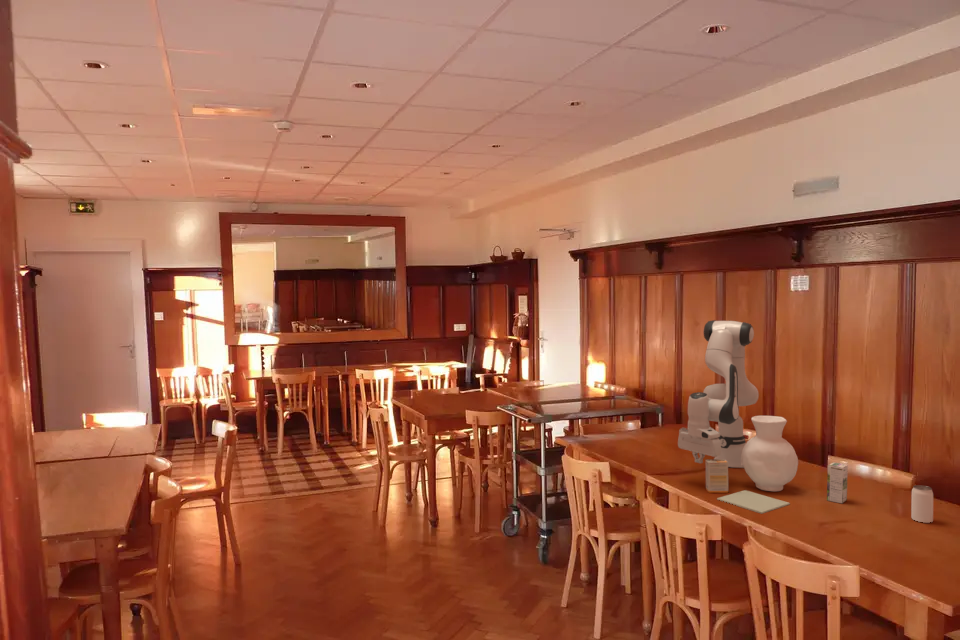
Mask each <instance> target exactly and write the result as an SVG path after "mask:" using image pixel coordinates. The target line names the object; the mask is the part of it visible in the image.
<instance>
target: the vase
mask: <svg viewBox="0 0 960 640" xmlns="http://www.w3.org/2000/svg"><path fill="white" fill-rule="evenodd" d="M751 422H752V424H753V426H754V429H755V436H753V437H751V438H749V439H748V440H747V441H746V444H745V445H744V448H743V450H742V454H741V457H742V463H743V466H744V468H743V469H744V471H745V473H746V474H747V476H748V477H749V478H750V479H751V481H753V483H755V487H756V488H757V489H759V490H761V491H765V492H781V491H783V489H784V486H785V485H786V484H788V483H790V482H792V481H793V479H794V478H795V476H796V475H797V471H798V466H799V459H798V458H799V457H798V455H797V454H796V451H795V448H794V447H793V445H792V444H791V443H790V442H788V441H787V439H785V438H783V437H782V436H783V431H784V428H785V426H786V424H787V422H788V420H787V419H786V418H785V417H783V416H777V415H776V416H775V415H755V416H752V417H751Z"/></svg>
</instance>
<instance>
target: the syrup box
mask: <svg viewBox="0 0 960 640" xmlns="http://www.w3.org/2000/svg"><path fill="white" fill-rule="evenodd" d="M848 468H849V466H848V465H847V464H845V463H840V462H831V463H830V464H828V465H827V478H826V479H827V480H826V481H827V482H826V483H827V489H826V501H828V502H833V503H839V504H844V503H845V502H846V501H847V500H848V475H849V474H848V471H849V470H848Z"/></svg>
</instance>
